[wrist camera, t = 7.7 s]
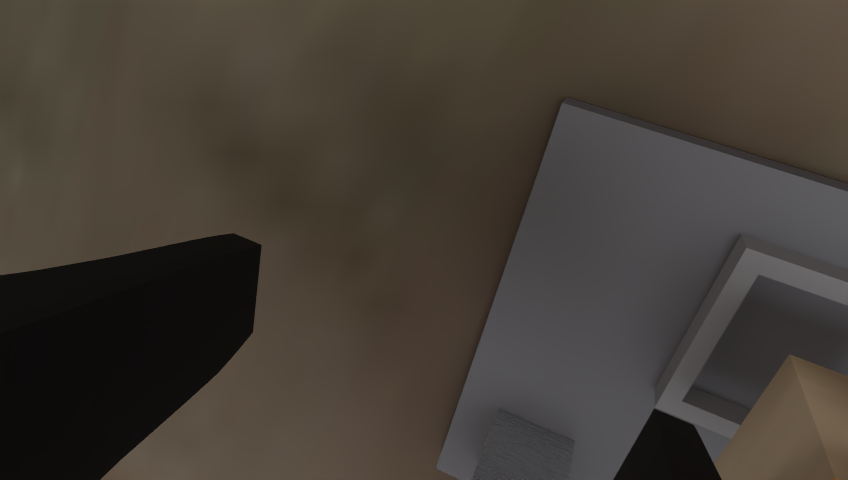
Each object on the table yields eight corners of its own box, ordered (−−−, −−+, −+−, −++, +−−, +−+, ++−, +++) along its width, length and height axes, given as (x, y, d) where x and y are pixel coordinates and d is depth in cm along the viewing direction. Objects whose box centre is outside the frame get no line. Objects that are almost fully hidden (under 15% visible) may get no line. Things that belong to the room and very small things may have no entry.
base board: (1195, 290, 14) (1271, 333, 12) (831, 634, 21) (846, 690, 20) (566, 97, 17) (556, 108, 16) (443, 451, 25) (427, 486, 23)
